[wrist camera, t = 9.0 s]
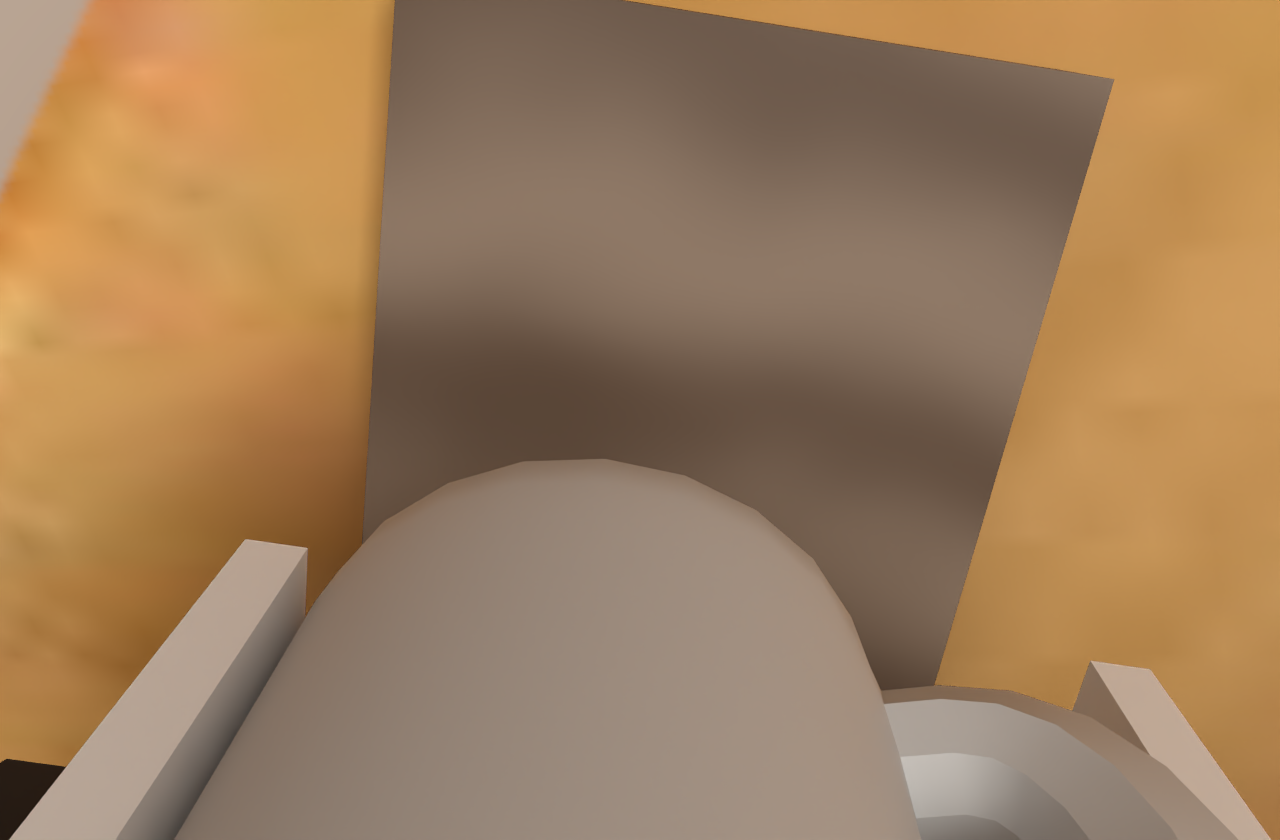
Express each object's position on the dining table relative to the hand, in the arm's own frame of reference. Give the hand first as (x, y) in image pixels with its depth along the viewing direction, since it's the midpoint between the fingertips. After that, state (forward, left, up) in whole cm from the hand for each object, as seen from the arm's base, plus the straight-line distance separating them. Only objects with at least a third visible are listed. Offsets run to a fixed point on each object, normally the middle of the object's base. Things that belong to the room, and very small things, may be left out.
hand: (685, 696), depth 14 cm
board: (0, 0, -12) cm, 12 cm away
